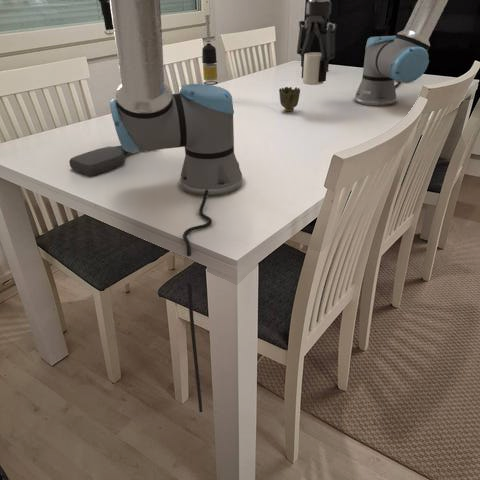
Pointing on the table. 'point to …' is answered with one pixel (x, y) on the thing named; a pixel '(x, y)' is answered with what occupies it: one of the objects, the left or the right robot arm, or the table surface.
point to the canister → (311, 68)
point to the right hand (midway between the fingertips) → (313, 79)
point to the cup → (289, 98)
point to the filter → (209, 58)
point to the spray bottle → (99, 160)
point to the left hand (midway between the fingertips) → (127, 31)
